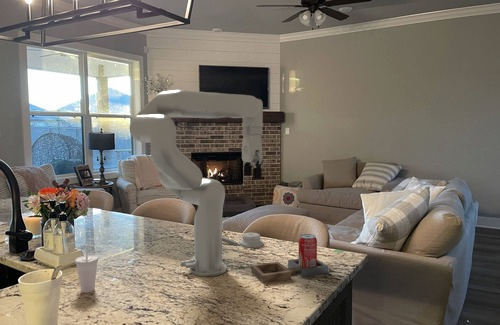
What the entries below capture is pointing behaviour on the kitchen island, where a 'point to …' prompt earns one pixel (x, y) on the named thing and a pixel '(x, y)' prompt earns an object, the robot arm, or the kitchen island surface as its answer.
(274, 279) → the stand socket
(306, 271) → the socket
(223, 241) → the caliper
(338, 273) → the kitchen island surface
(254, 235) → the mechanical component
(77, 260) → the smoothie
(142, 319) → the kitchen island surface
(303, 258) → the soda can
